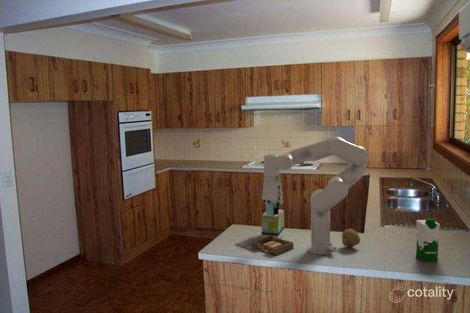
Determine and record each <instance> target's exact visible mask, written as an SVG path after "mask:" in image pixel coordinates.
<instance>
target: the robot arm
mask: <svg viewBox="0 0 470 313" xmlns="http://www.w3.org/2000/svg"><path fill="white" fill-rule="evenodd" d="M332 156H335V157H337V158H338V159H340V160H344V161H346V162H348V164H347V166H346V167H344V168H343V169H342V170H341V171H340V172H338V174H336V175H335V176H334V177H332V178H331V179H330V180H329V181H328V183H327V185H326V186H325V187H324V188H323V189H321V188H319V189H315V190H314V191H313V192H312V193H311V196H310V245H309V246H308V248H307V250H308V253H311V254H312V255H313V254H314V255H319V256H321V255H322V256H324V255H325V256H326V255H331V254H333V253H336V250H337V246H333V243H332V242H331V209H332V208H333V207H335V206H336V205H337V204H338V203H340V202H341V201H342V200H343V199H345V198H346V197H347V195H348V193H349V189H350V188H351V187H352V186H353V185H354V184H355V183H356V182H358V181H359V180H360V179H362V177H363V176H364V174H365V173H366V171H367V168H368V165H369V163H368V162H369V160H370V153H369V152H368V150H367V149H366V148H365V147H364V146H362V145H355V144H354V143H351V142H348V141H346V140H345V139H344V138H342V137H340V136H333V137H330V138H327V139H324V140H322V141H318V142H315V143H312V144H308V145H305V146H303V147H300V148H297V149H293V150H291V151H288V152H284V153H283V154H281V155H277V154H265V155H264V156H263V169H264V170H263V173H264V174H263V175H264V180H263V186H262V195H261V196H260V197H261V200H262V201H263V203H264V205H265V206H266V203H269V202H274V206H275V207H274V215H277V214H279V210H280V208H279V207H280V206H281V205H282V204H283V203H284V199H283V198H284V197H283V188H282V183H281V177H280V170H282V171H287V170H291V169H292V168H293V166H295V165H299V164H301V163H304V162H316V161H321V160H323V159H325V158H329V157H332ZM276 203H277V204H276Z"/></svg>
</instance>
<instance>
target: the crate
mask: <svg viewBox="0 0 470 313" xmlns="http://www.w3.org/2000/svg"><path fill="white" fill-rule="evenodd" d="M256 240H257V241H254V242H252V246H253V248H254V249H253V250H255V251H259V252H262V253H265V254H268V255H270V256H274V257H278V256H280V255H283V254H284V253H286V252H290V251H292V250H294V242H293V241H290V240H287V239H283V238H281V239H280V238H276V237H273V236H268V237H265V238H263V239H262V238H260V239H256Z"/></svg>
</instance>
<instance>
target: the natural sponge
mask: <svg viewBox="0 0 470 313" xmlns="http://www.w3.org/2000/svg"><path fill="white" fill-rule="evenodd" d="M341 239H342V240H341V241H342V245H343V246H345V247H347V248H348V249H350V248H353V247H354V246H357V245H359V244H360V243H361V238H360V236H359V234H358V232H357V231H356V230H355V229H353V228H347V229H345V230H344V231H343V232H342V233H341Z"/></svg>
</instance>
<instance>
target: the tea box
mask: <svg viewBox="0 0 470 313" xmlns="http://www.w3.org/2000/svg"><path fill="white" fill-rule="evenodd" d="M283 234H284V235H285V210H284V209H279V214H278V215H275V216H271V215H266V211H265V212H263V213H262V214H261V239H263V238H265V237H268V236H273V237H276V238H280V239H282V237H283V236H284V235H283Z"/></svg>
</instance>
